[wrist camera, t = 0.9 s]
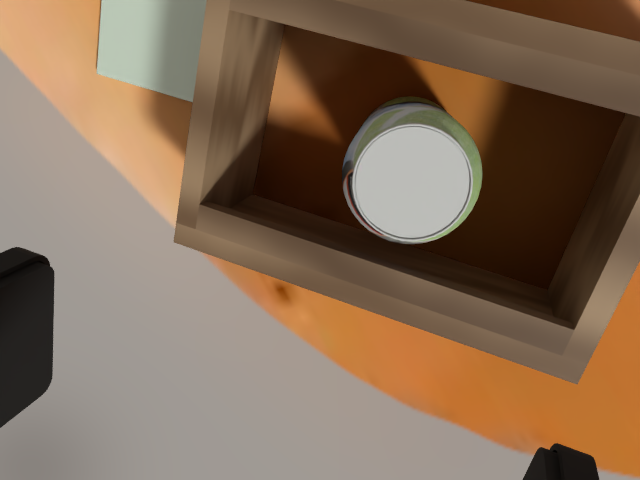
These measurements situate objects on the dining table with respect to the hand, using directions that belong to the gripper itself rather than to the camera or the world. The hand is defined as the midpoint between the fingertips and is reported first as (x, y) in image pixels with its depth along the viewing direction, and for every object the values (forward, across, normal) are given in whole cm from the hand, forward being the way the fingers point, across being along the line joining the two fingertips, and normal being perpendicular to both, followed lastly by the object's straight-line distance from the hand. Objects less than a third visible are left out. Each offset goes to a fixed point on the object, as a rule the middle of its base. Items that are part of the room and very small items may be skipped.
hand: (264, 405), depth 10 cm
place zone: (+26, +18, -3) cm, 32 cm away
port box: (+26, 0, 0) cm, 26 cm away
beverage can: (+26, 0, 0) cm, 26 cm away
